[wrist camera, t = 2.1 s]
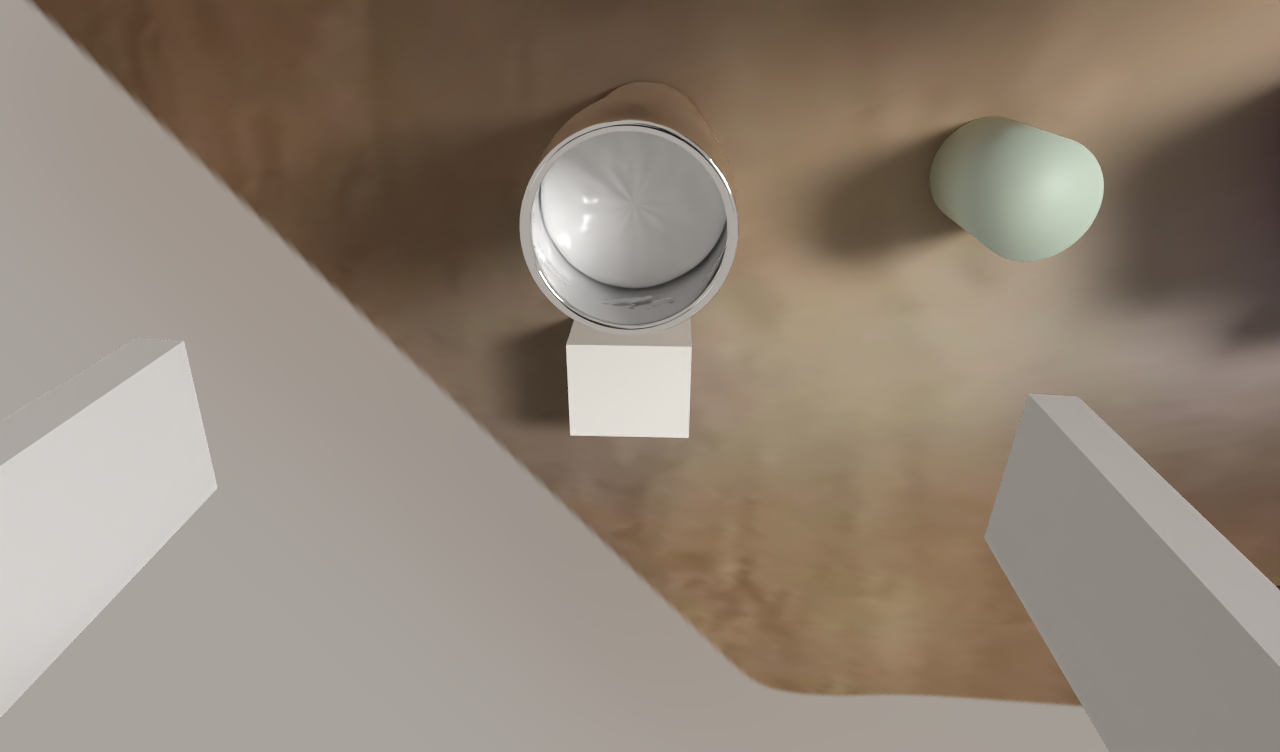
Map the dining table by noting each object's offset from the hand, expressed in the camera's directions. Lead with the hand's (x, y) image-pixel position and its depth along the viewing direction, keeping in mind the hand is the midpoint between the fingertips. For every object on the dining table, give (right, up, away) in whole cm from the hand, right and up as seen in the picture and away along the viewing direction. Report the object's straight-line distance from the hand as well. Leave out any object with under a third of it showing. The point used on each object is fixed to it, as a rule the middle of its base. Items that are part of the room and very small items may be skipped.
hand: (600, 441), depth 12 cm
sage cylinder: (+17, +11, +24) cm, 31 cm away
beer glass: (+1, +12, +24) cm, 27 cm away
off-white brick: (0, +2, +29) cm, 29 cm away
